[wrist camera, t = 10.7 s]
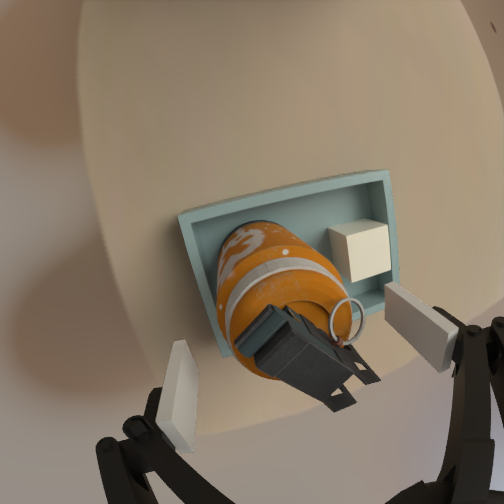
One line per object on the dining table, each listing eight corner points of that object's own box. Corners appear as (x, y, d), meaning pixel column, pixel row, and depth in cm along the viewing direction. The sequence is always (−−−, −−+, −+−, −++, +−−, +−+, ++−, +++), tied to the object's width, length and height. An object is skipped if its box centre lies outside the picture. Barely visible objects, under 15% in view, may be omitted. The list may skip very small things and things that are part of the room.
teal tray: (183, 210, 29) (177, 215, 25) (368, 169, 30) (388, 169, 26) (222, 336, 33) (222, 357, 29) (381, 290, 34) (399, 303, 30)
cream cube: (327, 227, 30) (346, 235, 25) (365, 218, 31) (387, 224, 26) (333, 268, 32) (351, 282, 27) (369, 257, 32) (391, 269, 27)
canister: (254, 201, 29) (322, 241, 9) (326, 264, 31) (438, 362, 12) (201, 265, 30) (175, 396, 11) (275, 320, 32) (330, 458, 13)
